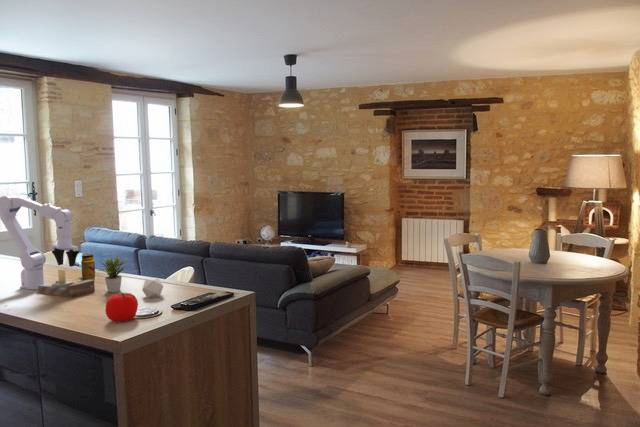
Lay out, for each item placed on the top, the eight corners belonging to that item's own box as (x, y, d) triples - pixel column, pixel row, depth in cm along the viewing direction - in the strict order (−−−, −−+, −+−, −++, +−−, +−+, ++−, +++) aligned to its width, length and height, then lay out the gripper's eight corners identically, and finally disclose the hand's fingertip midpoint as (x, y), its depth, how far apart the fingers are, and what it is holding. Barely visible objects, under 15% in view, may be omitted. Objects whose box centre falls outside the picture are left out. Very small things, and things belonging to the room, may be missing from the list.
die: (162, 294, 232) (148, 277, 231) (170, 288, 226) (156, 270, 226) (148, 305, 226) (134, 287, 225) (156, 298, 220) (142, 280, 220)
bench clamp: (37, 292, 235) (36, 281, 234) (60, 286, 246) (59, 275, 245) (72, 297, 226) (71, 286, 225) (94, 291, 236) (94, 280, 236)
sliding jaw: (52, 288, 234) (51, 271, 233) (65, 285, 240) (63, 268, 239) (60, 289, 232) (59, 271, 231) (72, 286, 238) (71, 269, 237)
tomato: (122, 327, 186) (121, 298, 185) (98, 323, 191) (96, 295, 189) (146, 317, 197) (145, 290, 196) (123, 314, 201) (121, 287, 200)
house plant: (128, 294, 230) (127, 257, 228) (95, 296, 227) (92, 259, 225) (133, 286, 244) (131, 251, 242) (101, 288, 241) (99, 253, 239)
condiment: (97, 279, 260) (96, 255, 258) (78, 281, 255) (77, 257, 254) (94, 276, 266) (93, 252, 264) (76, 278, 261) (74, 254, 260)
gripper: (45, 236, 240) (47, 265, 241) (67, 238, 234) (69, 268, 235) (59, 234, 246) (61, 263, 248) (81, 236, 240) (83, 265, 241)
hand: (66, 265), depth 242 cm, fingers open, 7 cm apart
